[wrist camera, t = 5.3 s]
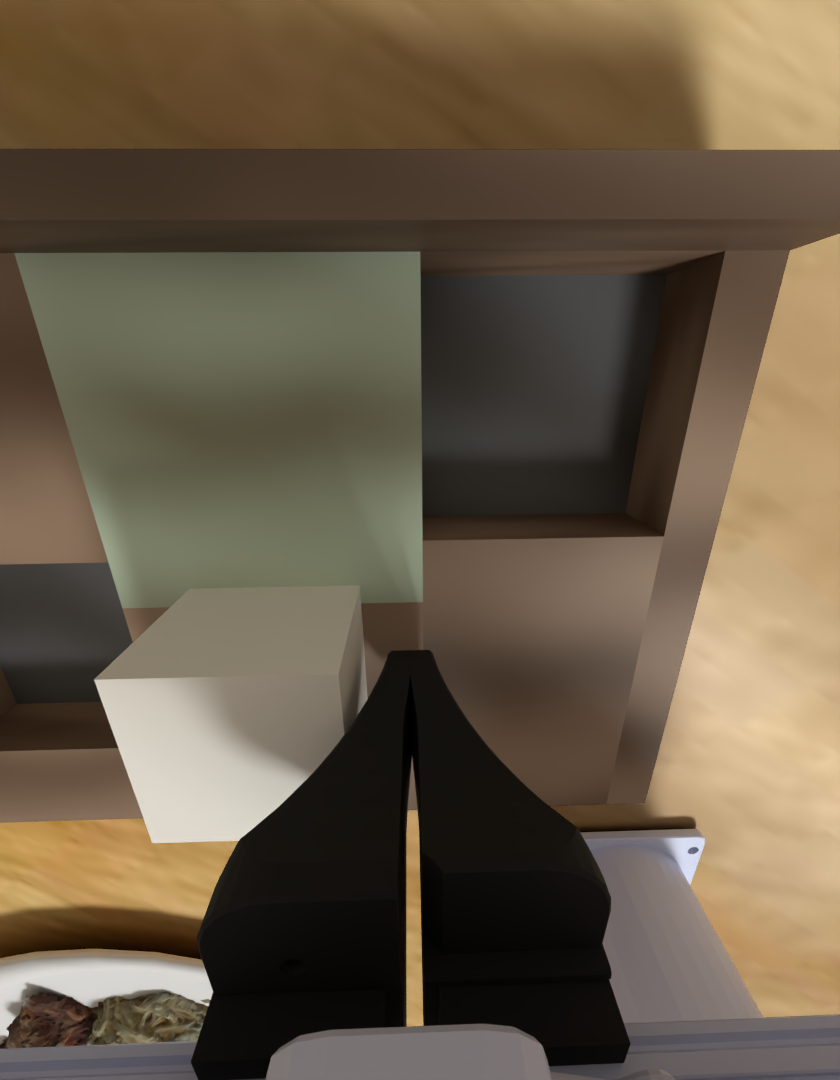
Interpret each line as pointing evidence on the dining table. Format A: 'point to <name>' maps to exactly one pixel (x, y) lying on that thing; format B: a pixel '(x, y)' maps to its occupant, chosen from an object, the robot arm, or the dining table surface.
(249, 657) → the cream block
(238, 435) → the brown wooden tray
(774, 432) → the dining table surface
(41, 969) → the plated food
